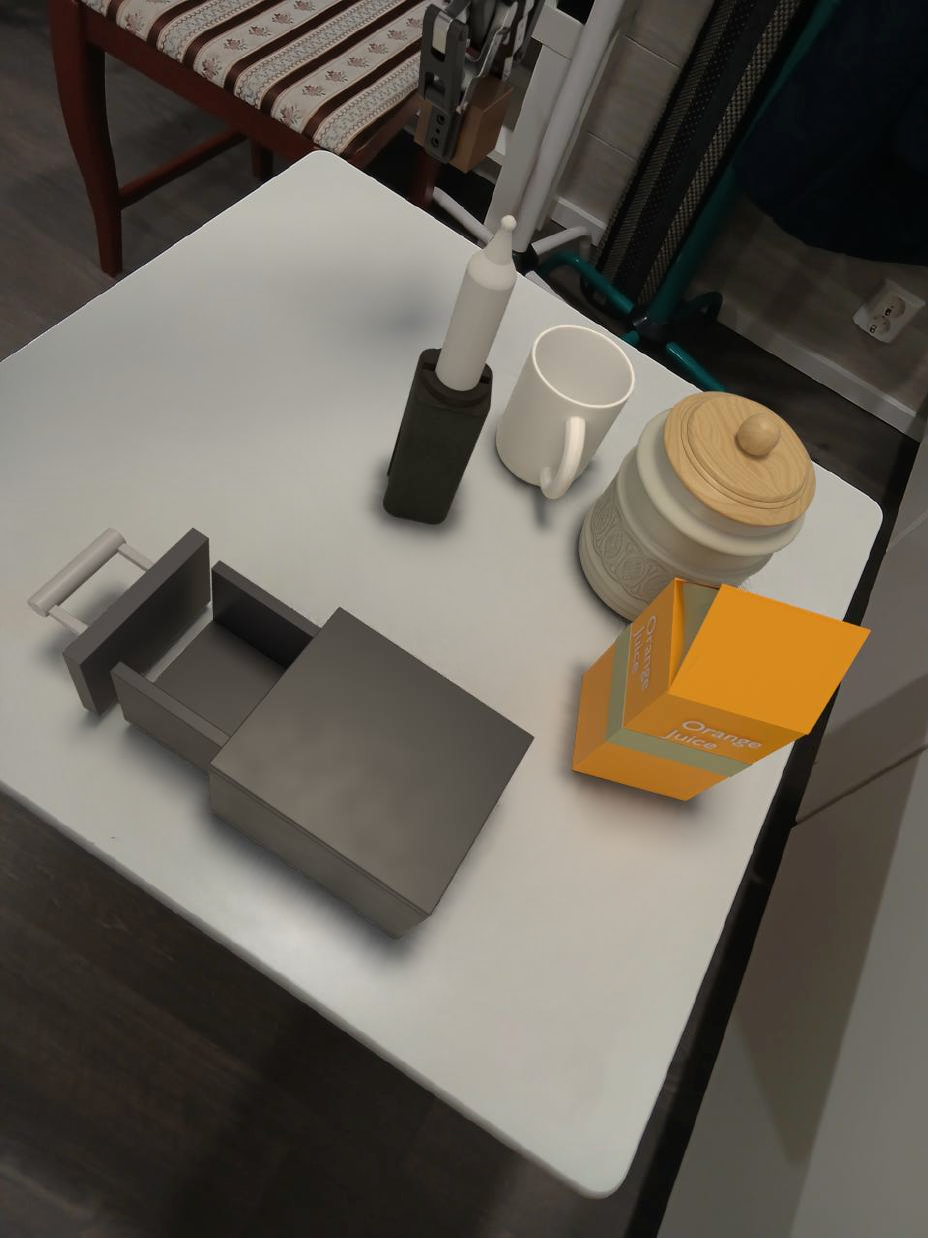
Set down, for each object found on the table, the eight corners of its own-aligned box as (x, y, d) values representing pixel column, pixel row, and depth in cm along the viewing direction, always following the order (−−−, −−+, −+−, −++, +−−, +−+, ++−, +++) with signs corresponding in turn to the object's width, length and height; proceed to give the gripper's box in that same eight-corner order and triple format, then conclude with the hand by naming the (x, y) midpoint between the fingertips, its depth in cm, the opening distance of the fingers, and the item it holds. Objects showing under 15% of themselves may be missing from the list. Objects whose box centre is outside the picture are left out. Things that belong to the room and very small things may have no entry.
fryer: (211, 811, 49) (207, 763, 41) (322, 672, 55) (339, 605, 47) (396, 939, 49) (430, 916, 40) (489, 784, 55) (535, 736, 46)
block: (413, 140, 58) (427, 75, 54) (444, 117, 60) (459, 53, 57) (465, 173, 58) (483, 111, 54) (495, 148, 60) (514, 87, 56)
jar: (733, 640, 66) (885, 516, 51) (583, 628, 62) (697, 492, 47) (704, 507, 72) (831, 361, 57) (566, 490, 68) (662, 331, 53)
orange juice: (582, 673, 61) (722, 523, 44) (690, 705, 62) (868, 571, 45) (570, 772, 57) (719, 649, 40) (686, 804, 58) (879, 698, 41)
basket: (18, 662, 50) (-14, 601, 43) (137, 550, 55) (125, 481, 48) (251, 823, 49) (255, 786, 42) (349, 694, 54) (367, 643, 48)
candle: (445, 527, 64) (555, 260, 42) (381, 514, 63) (460, 234, 41) (450, 475, 66) (556, 199, 45) (388, 462, 65) (467, 173, 44)
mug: (585, 536, 67) (640, 457, 58) (488, 516, 65) (529, 432, 56) (583, 425, 73) (633, 338, 64) (494, 405, 71) (532, 313, 62)
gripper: (533, -214, 48) (459, 80, 63) (408, -169, 41) (357, 154, 55) (640, -150, 48) (541, 131, 63) (534, -92, 40) (450, 212, 55)
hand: (455, 140), depth 59 cm, fingers closed on block, 4 cm apart
